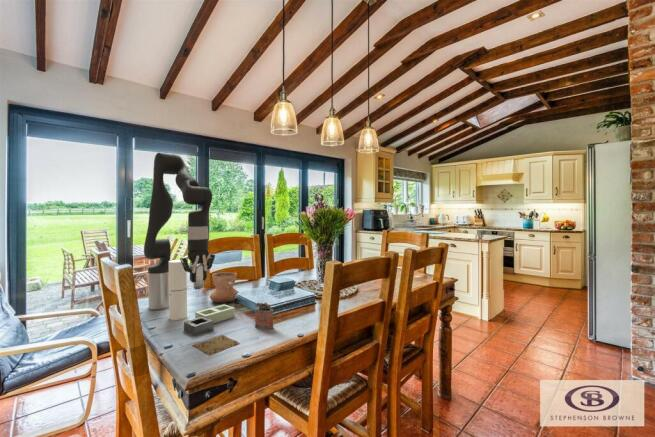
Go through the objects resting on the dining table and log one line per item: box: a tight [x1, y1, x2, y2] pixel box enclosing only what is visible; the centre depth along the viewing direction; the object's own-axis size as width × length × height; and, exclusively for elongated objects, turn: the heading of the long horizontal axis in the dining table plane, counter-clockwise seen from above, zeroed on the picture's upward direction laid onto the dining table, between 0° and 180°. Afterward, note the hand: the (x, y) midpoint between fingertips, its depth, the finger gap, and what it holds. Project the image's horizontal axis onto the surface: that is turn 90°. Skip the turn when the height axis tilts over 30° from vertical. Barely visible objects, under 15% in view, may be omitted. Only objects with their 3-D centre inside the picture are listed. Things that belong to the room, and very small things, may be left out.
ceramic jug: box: [209, 271, 240, 304], centre depth 162 cm, size 18×14×14 cm
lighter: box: [254, 302, 274, 331], centre depth 125 cm, size 8×3×10 cm, turn 71°
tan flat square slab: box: [191, 334, 240, 356], centre depth 110 cm, size 12×12×1 cm
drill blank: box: [193, 264, 204, 290], centre depth 122 cm, size 4×4×9 cm
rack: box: [194, 303, 236, 324], centre depth 135 cm, size 8×14×4 cm, turn 142°
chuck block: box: [183, 317, 215, 337], centre depth 122 cm, size 8×8×4 cm
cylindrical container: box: [168, 259, 188, 321], centre depth 137 cm, size 7×7×25 cm
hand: (198, 281), depth 122 cm, fingers closed on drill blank, 3 cm apart
